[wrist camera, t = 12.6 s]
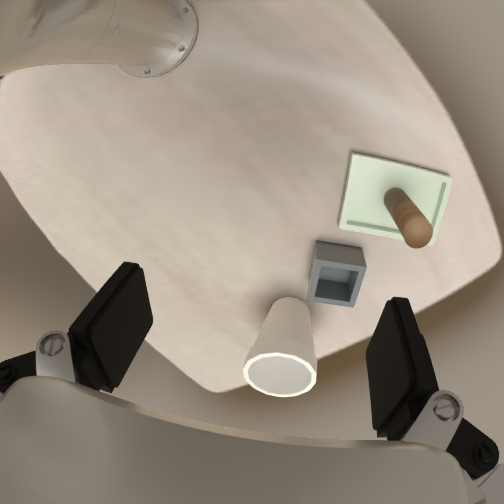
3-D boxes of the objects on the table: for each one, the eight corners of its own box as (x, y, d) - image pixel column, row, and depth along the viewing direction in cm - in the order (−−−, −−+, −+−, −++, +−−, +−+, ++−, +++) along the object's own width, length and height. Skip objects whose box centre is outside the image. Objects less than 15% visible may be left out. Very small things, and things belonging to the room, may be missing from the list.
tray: (338, 223, 38) (338, 228, 37) (350, 151, 34) (352, 154, 32) (429, 240, 37) (433, 246, 35) (447, 174, 32) (453, 178, 30)
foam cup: (257, 327, 50) (240, 388, 39) (264, 283, 45) (245, 346, 34) (312, 337, 49) (307, 401, 38) (325, 295, 44) (325, 360, 33)
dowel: (386, 185, 34) (408, 215, 25) (409, 190, 34) (436, 221, 25) (381, 209, 36) (400, 245, 27) (403, 213, 35) (427, 250, 27)
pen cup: (316, 240, 40) (316, 259, 36) (361, 248, 39) (366, 267, 35) (308, 279, 43) (307, 300, 39) (350, 286, 42) (353, 307, 38)
